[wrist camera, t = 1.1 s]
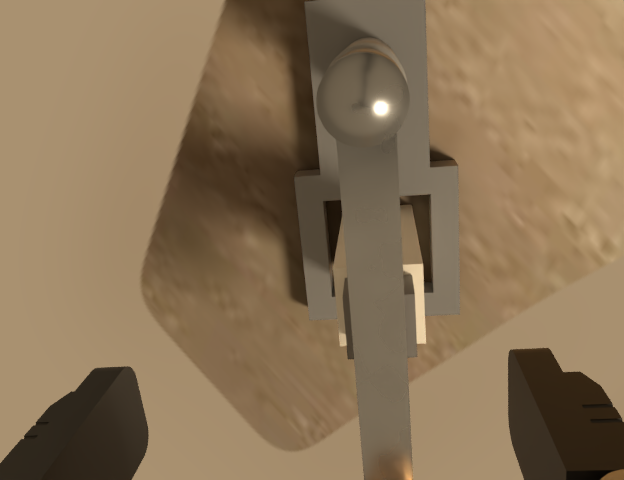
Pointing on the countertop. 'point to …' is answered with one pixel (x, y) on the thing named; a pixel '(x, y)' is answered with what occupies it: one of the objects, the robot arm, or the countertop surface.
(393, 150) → the long flat grey beam
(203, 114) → the countertop surface
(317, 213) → the dock
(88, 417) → the robot arm
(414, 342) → the plug
